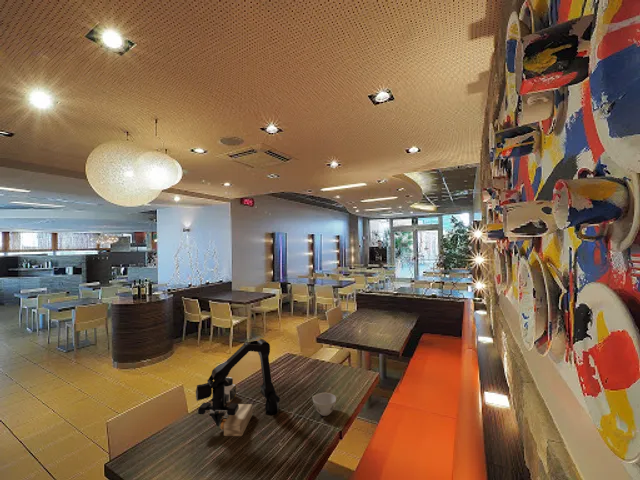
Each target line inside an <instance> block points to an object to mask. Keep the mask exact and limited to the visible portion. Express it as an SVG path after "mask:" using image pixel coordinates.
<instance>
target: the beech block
mask: <svg viewBox="0 0 640 480" xmlns="http://www.w3.org/2000/svg"><path fill="white" fill-rule="evenodd" d="M237 404H238V405H239V409H238V411H237V412H236V414H235V415H229V416H228V417H227V418H226V419H227V420H226V421H225V423H224V430H223V436H225V437H242V436H243V434H244V432H245V431H246V429H247V426H248V425H249V422H250V420H251V418H252V417H253V404H251V403H250V404H249V403H247V404H246V403H237Z"/></svg>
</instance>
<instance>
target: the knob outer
mask: <svg viewBox="0 0 640 480" xmlns="http://www.w3.org/2000/svg"><path fill="white" fill-rule="evenodd" d="M226 420H227V418H222V420H221V423H220V426H219V427H220V430H223V431H224V423H225V421H226Z"/></svg>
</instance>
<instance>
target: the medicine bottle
mask: <svg viewBox="0 0 640 480" xmlns="http://www.w3.org/2000/svg"><path fill="white" fill-rule="evenodd" d="M225 379H226V380H227V381H228V382H229V384H226V385H225V393H226V394H229V401H227V403H232V401H233V400H234V399H235V398H236V396H237V385H236V384H234V382H233V380H234V378H233V377H232V376H231V377H230V376H227V377H226V378H225Z"/></svg>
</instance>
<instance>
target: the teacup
mask: <svg viewBox="0 0 640 480" xmlns="http://www.w3.org/2000/svg"><path fill="white" fill-rule="evenodd" d="M311 399H312V400H311V401H312V402H313V406H314V409H315V410H316V412H318V414H319V415H321V416H324V417H327V416H329V415H330V414H331V413H332V412H333V411H334V409H335V406H336V402H337V397H336V395H335V394H332V393H331V392H320V393H316V394H315V395H312V397H311Z"/></svg>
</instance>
